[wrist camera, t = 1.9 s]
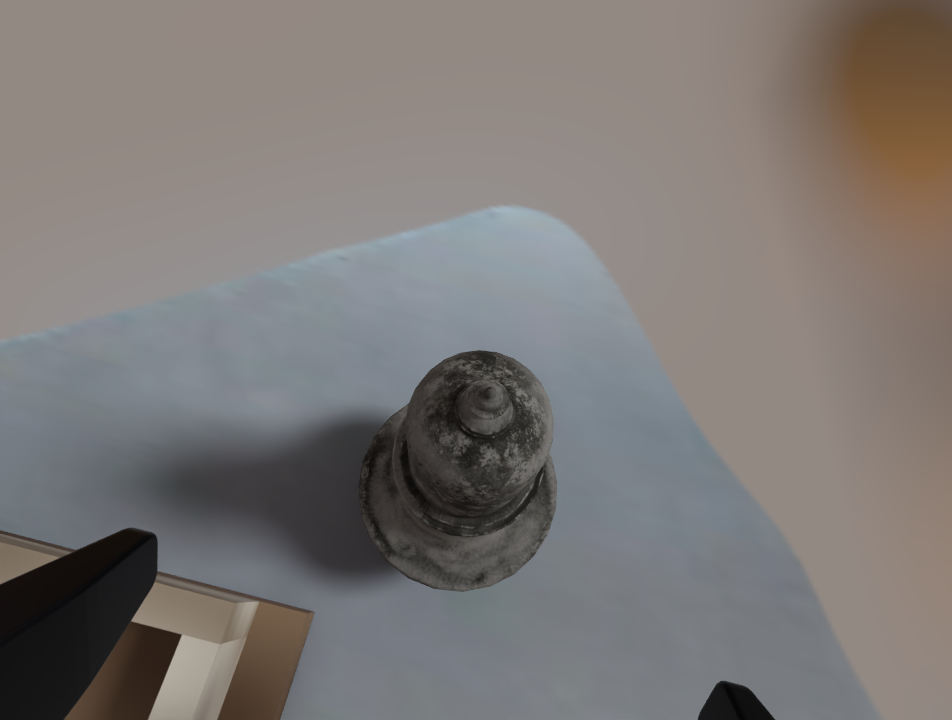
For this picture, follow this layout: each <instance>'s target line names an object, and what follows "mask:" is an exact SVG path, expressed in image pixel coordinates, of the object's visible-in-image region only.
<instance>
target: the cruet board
mask: <svg viewBox="0 0 952 720" xmlns="http://www.w3.org/2000/svg"><path fill="white" fill-rule="evenodd" d="M74 551H76V550H74V549H70V548H66V547H62V546H58V545H54V544H50V543H47V542H43V541H39V540H35V539H31V538H27V537H24V536H20V535H16V534H12V533H8V532H4V531H0V584H1V583H4V582H6V581H8V580H10V579H13V578H15V577H17V576H19V575H22V574H24V573H26V572H29V571H31V570H33V569H35V568H38V567H40V566H42V565H44V564H47V563H49V562H51V561H53V560H56V559H58V558H60V557H62V556H65V555H67V554H69V553H71V552H74ZM313 615H314V612H312V611H308V610H305V609H301V608H297V607H293V606H289V605H285V604H281V603H278V602H274V601H270V600H266V599H262V598H258V597H254V596H251V595H247V594H243V593H239V592H235V591H231V590H228V589H224V588H220V587H216V586H212V585H208V584H204V583H201V582H197V581H193V580H189V579H185V578H181V577H177V576H174V575H170V574H166V573H162V572H158V571H157V576H156V580H155V583H154V585H153V587H152V589H151V590H150V592H149V593H148V595H147V597H146V598H145V600H144V601H143V603H142V604H141V606H140V608H139V609H138V611H137V612H136V614H135V616H134V617H133V619H132V620H131V622H130V624H129V625H128V627H127V628H126V630H125V631H124V633H123V635H122V636H121V638H120V639H119V641H118V643H117V644H116V646H115V647H114V649H113V650H112V652H111V654H110V655H109V657H108V658H107V660H106V662H105V663H104V665H103V666H102V668H101V669H100V671H99V672H98V674H97V675H96V677H95V678H94V680H93V681H92V683H91V684H90V686H89V687H88V688H87V690H86V691H85V693H84V694H83V695H82V697H81V698H80V699H79V701H78V702H77V703H76V705H75V706H74V707H73V708H72V710H71V711H70V712H69V714H68V715H67V716H66V718H65V719H64V720H280V718H281V715H282V712H283V709H284V705H285V702H286V699H287V696H288V693H289V690H290V687H291V684H292V681H293V677H294V674H295V671H296V668H297V665H298V662H299V659H300V656H301V653H302V649H303V646H304V643H305V640H306V637H307V634H308V631H309V628H310V625H311V621H312V618H313Z"/></svg>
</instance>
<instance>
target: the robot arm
mask: <svg viewBox="0 0 952 720" xmlns="http://www.w3.org/2000/svg"><path fill="white" fill-rule="evenodd" d="M157 552H158V541H157V537H156V535H155V534H154V533H152V532H148V531H144V530H140V529H136V528H127V529H124V530H121V531H119V532H117V533H114V534H112V535H110V536H108V537H105V538H103V539H101V540H99V541H96V542H94V543H92V544H89V545H87V546H85V547H83V548H80V549H78V550H76V551H74V552H71V553H69V554H67V555H65V556H62V557H60V558H58V559H56V560H53V561H51V562H49V563H47V564H44V565H42V566H40V567H38V568H35V569H33V570H31V571H29V572H26V573H24V574H22V575H19V576H17V577H15V578H13V579H10V580H8V581H6V582H4V583H1V584H0V720H64V719H65V718H66V716H67V715H68V714H69V712H70V711H71V710H72V708H73V707H74V706H75V705H76V703H77V702H78V701H79V699H80V698H81V697H82V695H83V694H84V693H85V691H86V690H87V688H88V687H89V686H90V684H91V683H92V681H93V680H94V678H95V677H96V675H97V674H98V672H99V671H100V669H101V668H102V666H103V665H104V663H105V662H106V660H107V658H108V657H109V655H110V654H111V652H112V650H113V649H114V647H115V646H116V644H117V643H118V641H119V639H120V638H121V636H122V635H123V633H124V631H125V630H126V628H127V627H128V625H129V624H130V622H131V620H132V619H133V617H134V616H135V614H136V612H137V611H138V609H139V608H140V606H141V604H142V603H143V601H144V600H145V598H146V597H147V595H148V593H149V592H150V590H151V589H152V587H153V585H154V583H155V580H156V576H157ZM698 720H775V719H774V718H773V716H772V715H771V714H770V713H769V712H768V710H767V709H766V708H765V707H764V706H763V704H762V703H761V702H760V701H759V699H758V698H757V697H756V696H755V695H754V693H753V692H752V691H751V690H750V689H748V688H747V687H745V686H742V685H739V684H735V683H731V682H727V681H720V682H719V683H717V684H716V686H715V687H714V689H713V691H712V692H711V694H710V696H709V698H708V699H707V701H706V703H705V705H704V706H703V708H702V710H701V712H700V714H699V717H698Z"/></svg>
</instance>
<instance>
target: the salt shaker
mask: <svg viewBox="0 0 952 720" xmlns="http://www.w3.org/2000/svg"><path fill="white" fill-rule="evenodd" d="M552 441H553V414H552V409H551V405H550V400H549V398H548V396H547V394H546V392H545V390H544V388H543V386H542V384H541V382H540V381H539V380H538V379H537V378H536V377H535V376H534V374H533V373H532V372H531V371H530V370H529V369H528V368H526V367H525V366H524V365H522V364H521V363H519V362H518V361H516V360H515V359H513V358H510V357H508V356H505V355H502V354H500V353H497V352H489V351H480V350H478V351H471V352H463V353H459V354H457V355H454V356H452V357H450V358H447V359H445V360H443V361H442V362H441V363H439V364H438V365H436V366H435V367H434V368H432V369H431V370H430V371H429V372H428V373H427V375H426V376H425V377H424V378H423V380H422V381H421V382H420V383H419V385H418V386H417V387H416V389H415V391H414V393H413V395H412V398H411V400H410V402H409V404H407V405H406V406H405V407H403V408H402V409H401V410H399V411H398V412H396V413H395V414H394V415H392V416H391V417H390V418H389V419H388V420H387V421H386V423H385V424H384V425H383V426H382V428H381V429H380V430H379V431H378V433H377V434H376V435H375V436H374V438H373V440H372V442H371V444H370V446H369V449H368V451H367V453H366V455H365V457H364V460H363V464H362V470H361V475H360V481H359V496H360V507H361V515H362V517H363V520H364V523H365V525H366V528H367V531H368V533H369V536H370V539H371V540H372V542H373V543H374V544H375V546H376V547H377V548H378V550H379V551H380V552H381V554H382V555H383V557H384V558H385V559H386V561H387V562H388V563H390V564H391V565H392V566H394V567H395V568H396V569H397V570H399V571H400V572H401V573H403V574H404V575H405V576H406V577H408V578H409V579H411V580H414V581H416V582H419V583H421V584H424V585H426V586H429V587H431V588H434V589H441V590H451V591H461V592H463V591H468V590H474V589H479V588H484V587H490V586H492V585H494V584H496V583H498V582H500V581H502V580H504V579H506V578H508V577H510V576H512V575H514V574H515V573H516V572H517V571H518V570H519V569H520V568H521V567H522V566H524V565H525V564H526V563H527V562H528V561H529V560H530V559H531V558H532V557H533V556H534V555H535V554H536V552H537V550H538V549H539V547H540V546H541V544H542V542H543V541H544V539H545V538H546V536H547V534H548V532H549V529H550V526H551V522H552V519H553V516H554V513H555V509H556V492H557V480H556V476H555V471H554V467H553V462H552V458H551V455H550V453H549V451H550V448H551V444H552Z"/></svg>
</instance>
